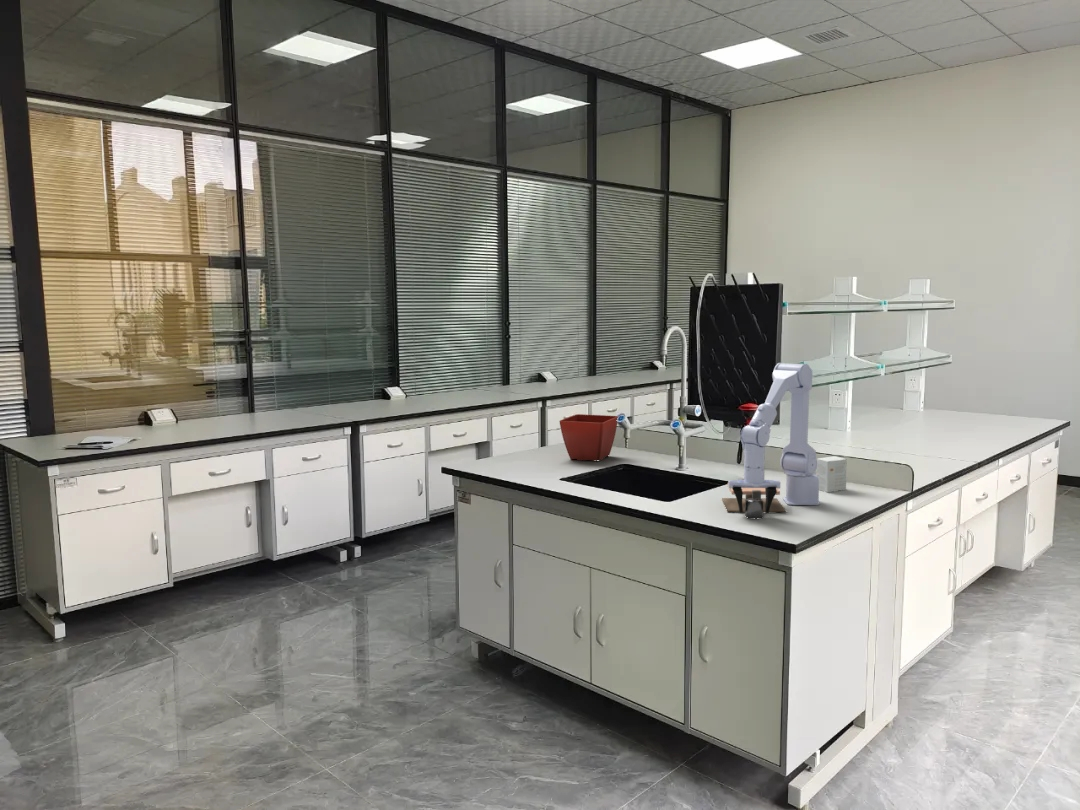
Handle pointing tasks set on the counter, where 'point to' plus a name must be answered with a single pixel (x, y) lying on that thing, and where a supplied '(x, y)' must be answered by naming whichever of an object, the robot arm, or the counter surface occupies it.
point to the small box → (831, 473)
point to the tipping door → (749, 491)
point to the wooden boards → (732, 503)
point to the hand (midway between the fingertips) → (753, 512)
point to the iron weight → (754, 508)
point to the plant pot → (588, 435)
